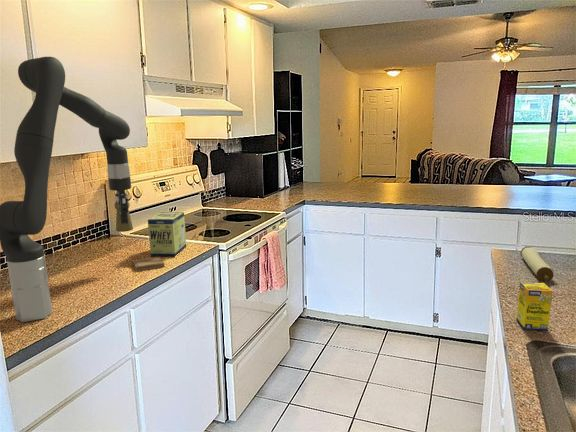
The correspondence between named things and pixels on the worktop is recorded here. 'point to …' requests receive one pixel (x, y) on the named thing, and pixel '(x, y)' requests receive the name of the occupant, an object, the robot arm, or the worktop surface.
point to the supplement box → (534, 306)
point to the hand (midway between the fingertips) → (124, 222)
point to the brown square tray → (148, 263)
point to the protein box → (167, 234)
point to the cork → (119, 225)
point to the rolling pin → (537, 264)
